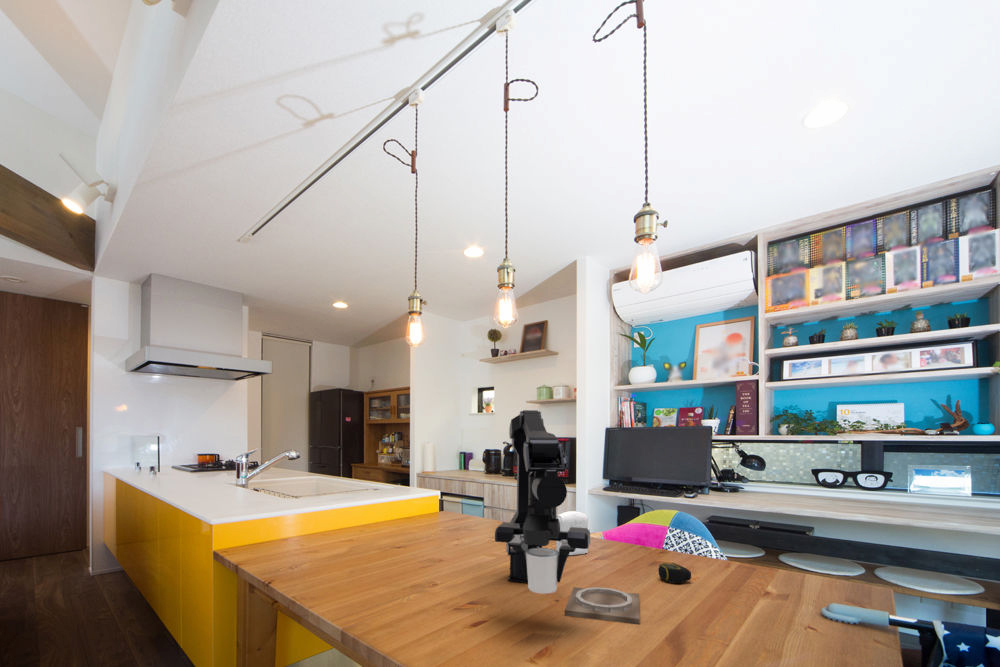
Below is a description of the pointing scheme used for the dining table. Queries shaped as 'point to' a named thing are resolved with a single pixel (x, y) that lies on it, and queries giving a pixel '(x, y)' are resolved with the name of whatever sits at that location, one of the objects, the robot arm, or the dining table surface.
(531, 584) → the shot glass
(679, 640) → the dining table surface
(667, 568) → the tape measure
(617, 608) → the ring holder
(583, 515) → the white rounded block
